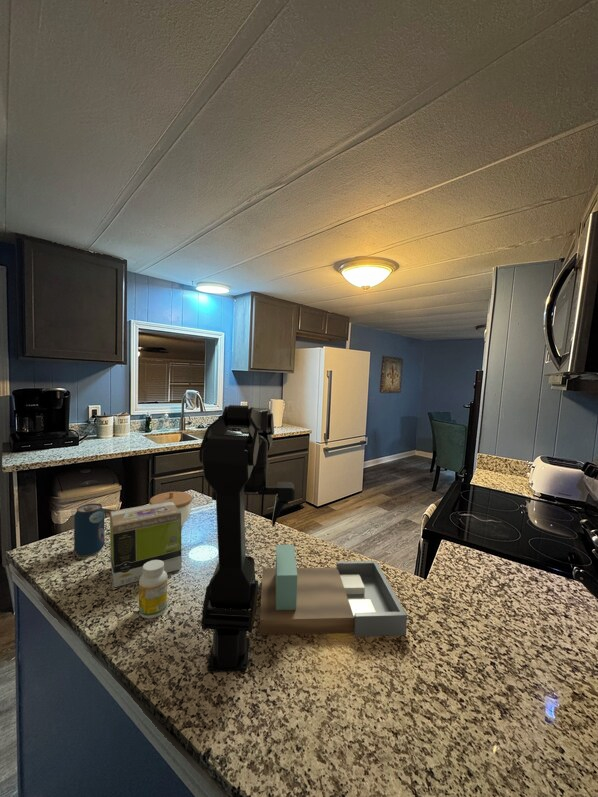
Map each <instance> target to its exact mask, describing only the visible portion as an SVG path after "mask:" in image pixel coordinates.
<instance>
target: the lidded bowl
mask: <svg viewBox="0 0 598 797" xmlns="http://www.w3.org/2000/svg"><path fill="white" fill-rule="evenodd" d="M192 500H193V496H192V495H191V494H190V493H188V492H185V491H168V492H162V493H159V494H156V495H154V496H151V498H150V499H149V505H150V504H155V503H161V502H166V501H173V503H174V504H175V506H176V507H177V509H178V510H179V511H180V513H181V528H183V526H184V524H185V523H187V521H188V520H189V517H190V515H191V512H192V502H193V501H192Z"/></svg>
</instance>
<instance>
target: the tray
mask: <svg viewBox="0 0 598 797" xmlns="http://www.w3.org/2000/svg"><path fill="white" fill-rule="evenodd" d="M336 567H337V568H338V571H339V574H340V575H357V574H359V575H360V578H361V580H362V582H363V584H364V587H365V594H346V595H347V598H348V600H350V599H370V600H371V602H372V604H373V607H374V609H375V611H376V612H361V613H354V633H353V635H354V637H358V638H359V637H382V636H384V637H385V636H386V637H387V636H407V626H408V625H407V624H408V614H407V612H406V610H405V609H404V607H403V605H402V603H401V601H400V600H399V598H398V597H397V595H396V593H395V591H394V589H393V587H392V586H391V584H390V582H389V581H388V578H387V577H386V575H385V573H384V572H383V570H382V568H381V566H380V564H379V562H378V561H377V560H345V561H344V560H338V561H337V560H336Z"/></svg>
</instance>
